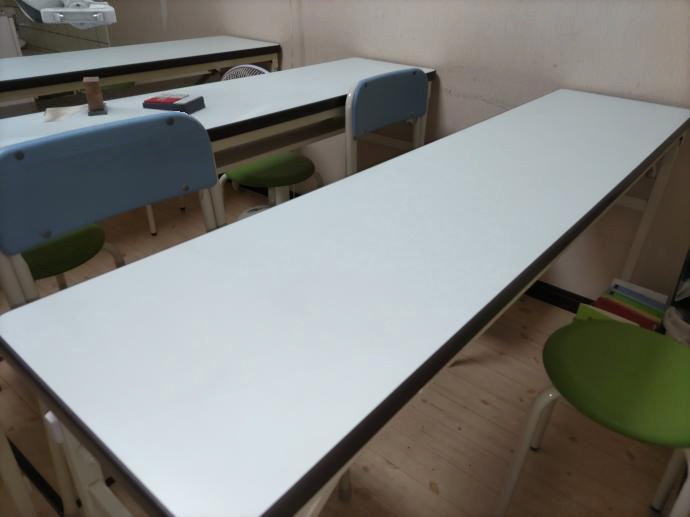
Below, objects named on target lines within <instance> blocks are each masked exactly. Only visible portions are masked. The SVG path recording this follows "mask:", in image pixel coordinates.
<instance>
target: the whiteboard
mask: <svg viewBox="0 0 690 517" xmlns="http://www.w3.org/2000/svg"><path fill="white" fill-rule="evenodd" d="M86 109H88V105H75V106H61V107H60V106H59V107H58V106H57V107H46V108H45V110H44V114H43V121H42V123H44V124H45V123H55V122H62V121H64V120H66V119H67V118H69V117H71V116H73V115H75V114H77V113H79V112H82V111H84V110H86Z"/></svg>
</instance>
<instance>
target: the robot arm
mask: <svg viewBox="0 0 690 517" xmlns="http://www.w3.org/2000/svg"><path fill="white" fill-rule="evenodd" d="M13 1H14V3H16V4H17V5H18V7H19V9H20V10H21V11H22V12H23V14H24V15H25V16H26V17H27V18H28V19H29V20H31V21H32V22H34V23H36V24H42V25H44V24H45V25H46V24H47V25H48V24H70V25H71V26H72V27H74V28H75V29H79V30H89V29H90V28H91V29H92V28H94V27H101V26H109V25H112V24H116V23H117V21H118V20H117V16H116V15H117V14H116V11H115V8H114V7H113V6H111V5H109V3H108V2H106V1H99V0H13Z"/></svg>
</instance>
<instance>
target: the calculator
mask: <svg viewBox="0 0 690 517" xmlns="http://www.w3.org/2000/svg"><path fill="white" fill-rule="evenodd" d="M142 108H143V109H150V110H158V111H167V112H173V111H180V112H185V113H187V114H190V115H193V114H194V113H197V112H199V111H201V110H203V109H206V103H205V97H204V96H203V95H199V94H197V95H195V94H194V95H193V94H191V95H190V94H187V93H186V94H185V93H177V94H176V93H161V94H159V95H156V96H153V97H150V98H147V99H145V100H143V102H142Z"/></svg>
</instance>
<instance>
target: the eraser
mask: <svg viewBox="0 0 690 517" xmlns="http://www.w3.org/2000/svg"><path fill="white" fill-rule="evenodd" d="M82 84H83V87H84V92H85V98H86V101H87V106H88V107H87V116H88V117H93V116H94V117H96V116H105V115H108V108H107V102H104V97H103V92H102V86H101V83H100V78H99V76H90V77H89V76H85V77H83V80H82Z"/></svg>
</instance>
